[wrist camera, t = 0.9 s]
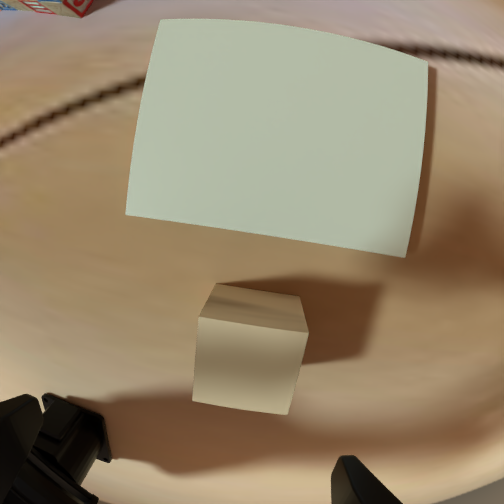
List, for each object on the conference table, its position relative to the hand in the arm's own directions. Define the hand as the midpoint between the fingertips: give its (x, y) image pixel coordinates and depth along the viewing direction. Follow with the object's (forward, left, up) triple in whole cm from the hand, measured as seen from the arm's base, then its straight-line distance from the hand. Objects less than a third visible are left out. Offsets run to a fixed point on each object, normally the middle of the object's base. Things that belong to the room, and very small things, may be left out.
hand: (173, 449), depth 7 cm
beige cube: (-2, -2, -12) cm, 12 cm away
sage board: (+10, -2, -12) cm, 16 cm away
